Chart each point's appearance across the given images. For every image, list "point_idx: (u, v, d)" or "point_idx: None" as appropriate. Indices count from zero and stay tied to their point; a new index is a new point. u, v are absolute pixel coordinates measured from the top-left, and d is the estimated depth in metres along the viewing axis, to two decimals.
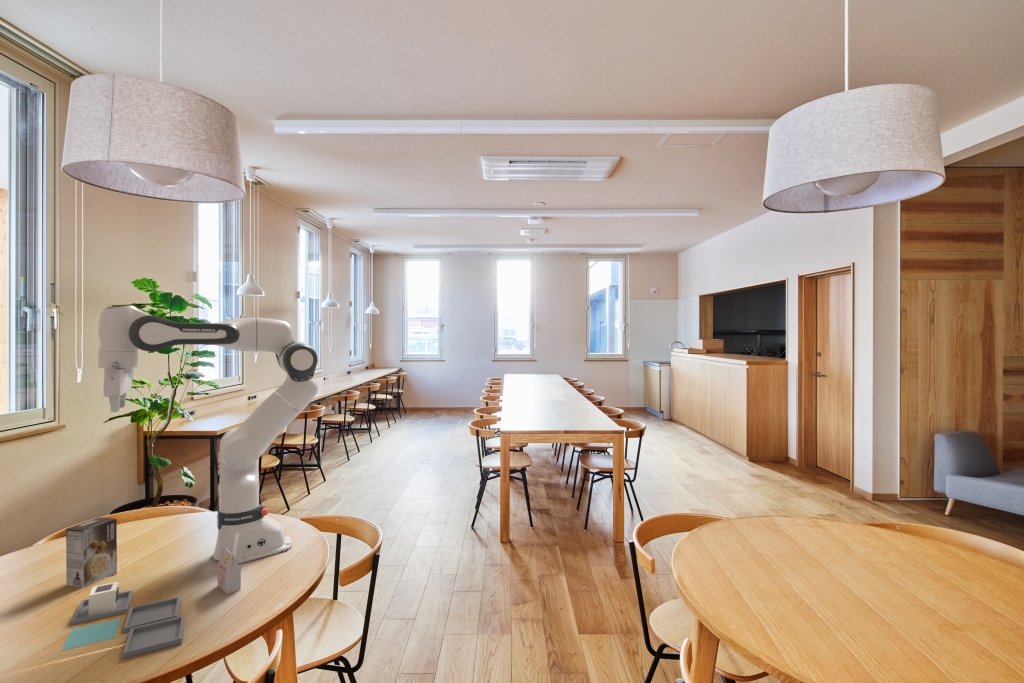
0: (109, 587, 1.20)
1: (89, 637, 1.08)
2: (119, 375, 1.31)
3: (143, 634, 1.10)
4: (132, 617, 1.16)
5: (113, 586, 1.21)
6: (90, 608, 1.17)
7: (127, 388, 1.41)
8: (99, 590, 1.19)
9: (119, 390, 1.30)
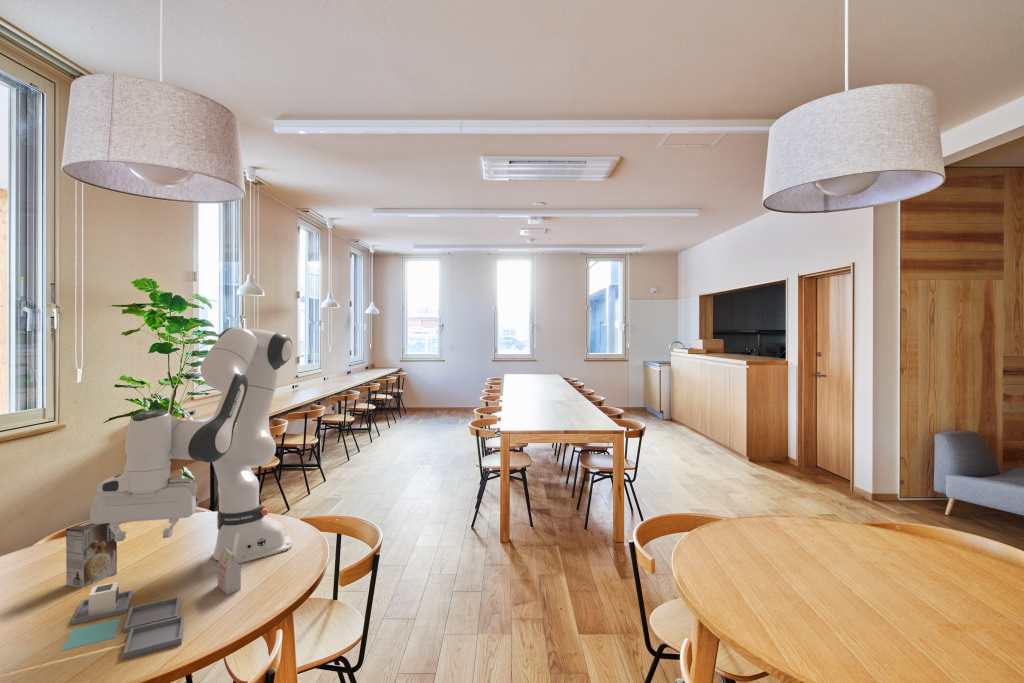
0: (109, 587, 1.20)
1: (89, 637, 1.08)
2: None
3: (143, 634, 1.10)
4: (132, 617, 1.16)
5: (113, 586, 1.21)
6: (90, 608, 1.17)
7: None
8: (99, 590, 1.19)
9: None
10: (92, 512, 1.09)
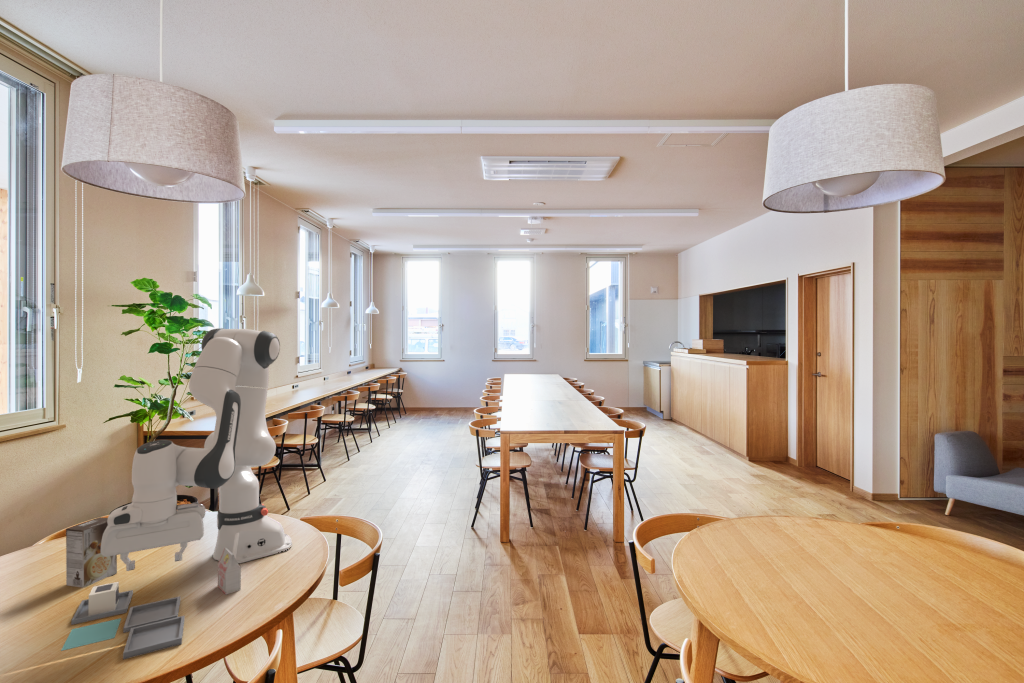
0: (109, 587, 1.20)
1: (89, 637, 1.08)
2: None
3: (143, 634, 1.10)
4: (132, 617, 1.16)
5: (113, 586, 1.21)
6: (90, 608, 1.17)
7: None
8: (99, 590, 1.19)
9: None
10: (103, 546, 1.11)
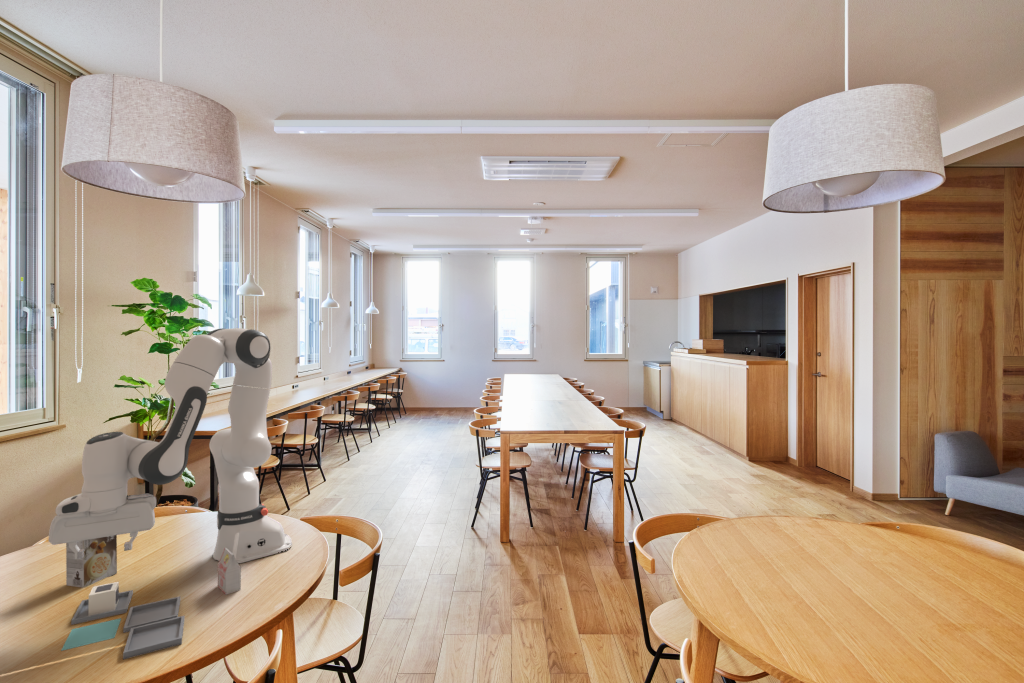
0: (109, 587, 1.20)
1: (89, 637, 1.08)
2: None
3: (143, 634, 1.10)
4: (132, 617, 1.16)
5: (113, 586, 1.21)
6: (90, 608, 1.17)
7: None
8: (99, 590, 1.19)
9: None
10: (51, 534, 1.14)
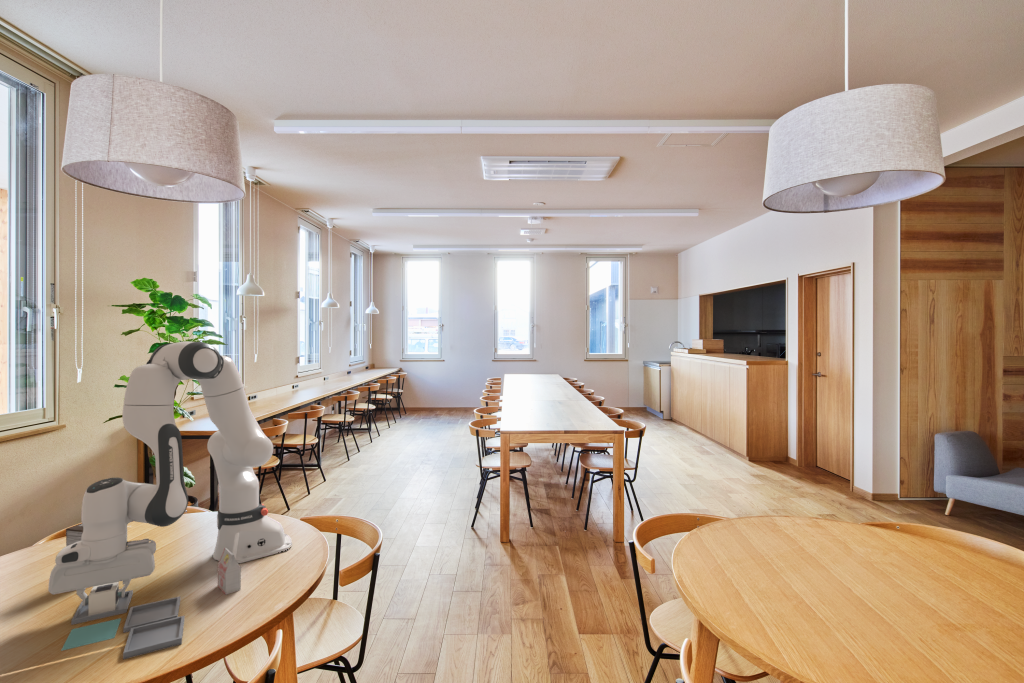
0: (109, 587, 1.20)
1: (89, 637, 1.08)
2: None
3: (143, 634, 1.10)
4: (132, 617, 1.16)
5: (113, 586, 1.21)
6: (90, 608, 1.17)
7: None
8: (99, 590, 1.19)
9: None
10: (51, 584, 1.14)
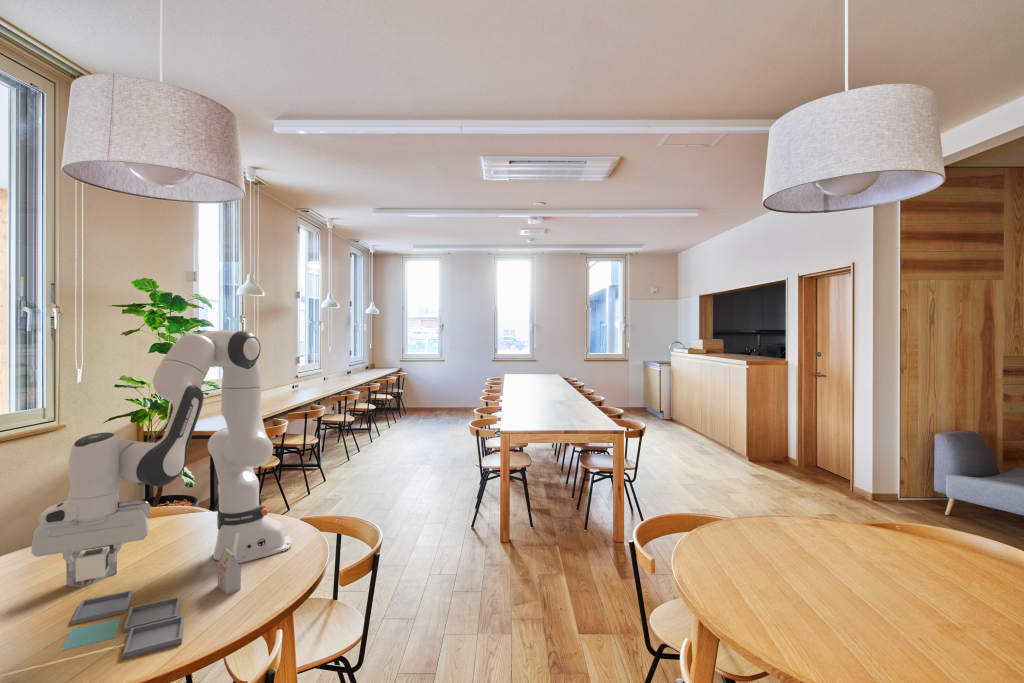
0: (99, 551, 1.10)
1: (89, 637, 1.08)
2: None
3: (143, 634, 1.10)
4: (132, 617, 1.16)
5: (103, 550, 1.11)
6: (77, 573, 1.07)
7: None
8: (88, 554, 1.09)
9: None
10: (34, 545, 1.03)
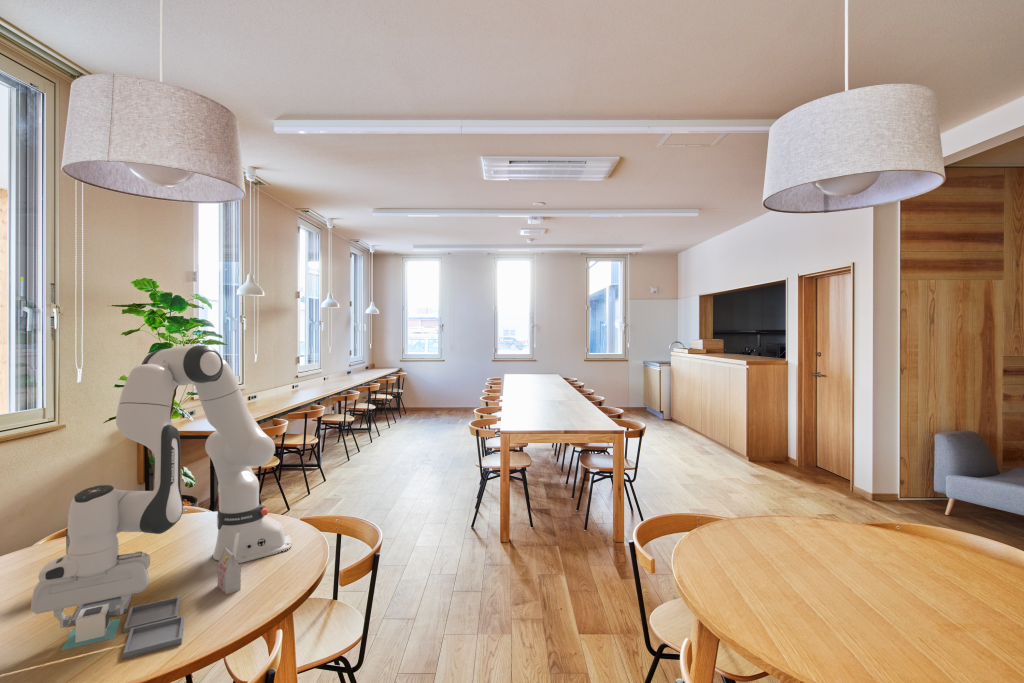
0: (98, 610, 1.10)
1: None
2: None
3: (143, 634, 1.10)
4: (132, 617, 1.16)
5: (103, 609, 1.11)
6: (77, 634, 1.07)
7: None
8: (87, 614, 1.09)
9: None
10: (33, 602, 1.03)
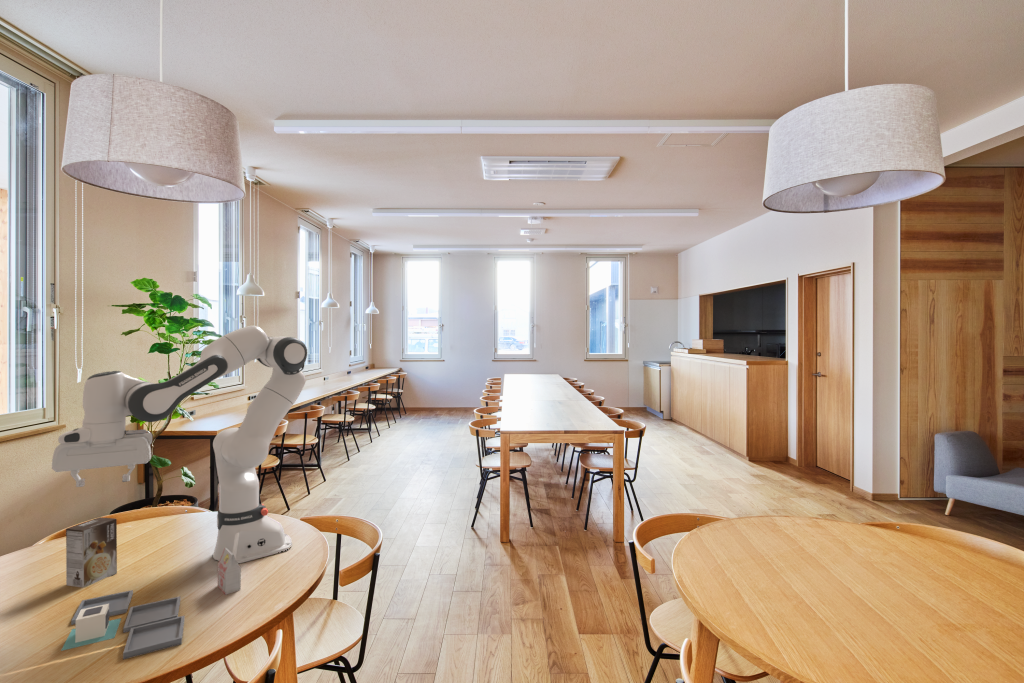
0: (98, 610, 1.10)
1: None
2: None
3: (143, 634, 1.10)
4: (132, 617, 1.16)
5: (103, 609, 1.11)
6: (77, 634, 1.07)
7: None
8: (87, 614, 1.09)
9: None
10: (54, 461, 1.22)
